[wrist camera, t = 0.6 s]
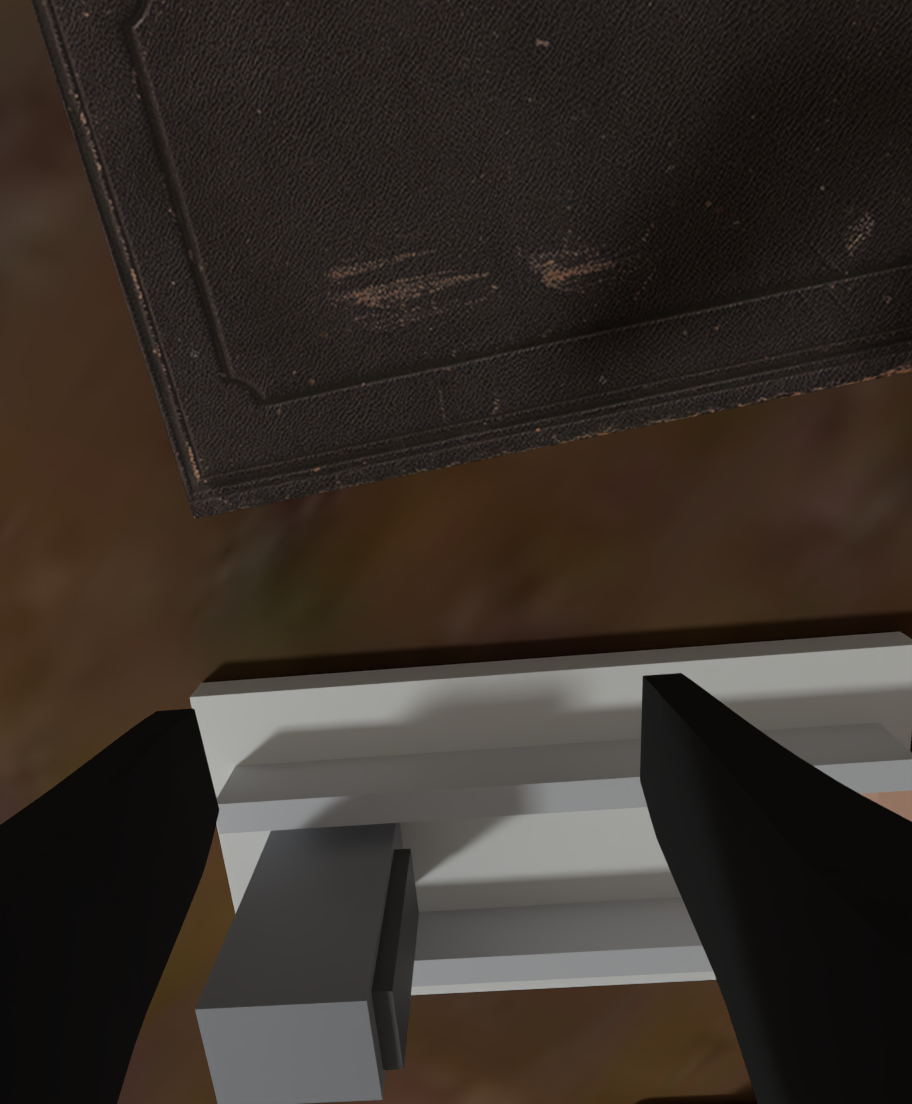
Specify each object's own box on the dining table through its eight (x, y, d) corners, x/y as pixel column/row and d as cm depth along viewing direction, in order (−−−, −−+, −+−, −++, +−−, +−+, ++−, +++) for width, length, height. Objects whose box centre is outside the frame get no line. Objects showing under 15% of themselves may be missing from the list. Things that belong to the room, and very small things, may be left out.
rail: (874, 947, 25) (1049, 1209, 18) (262, 979, 26) (174, 1239, 19) (900, 631, 22) (1129, 783, 14) (201, 682, 23) (64, 849, 15)
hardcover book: (995, 342, 20) (1059, 341, 18) (221, 502, 22) (193, 519, 20) (989, -384, 16) (1072, -502, 14) (34, -114, 18) (-28, -180, 16)
